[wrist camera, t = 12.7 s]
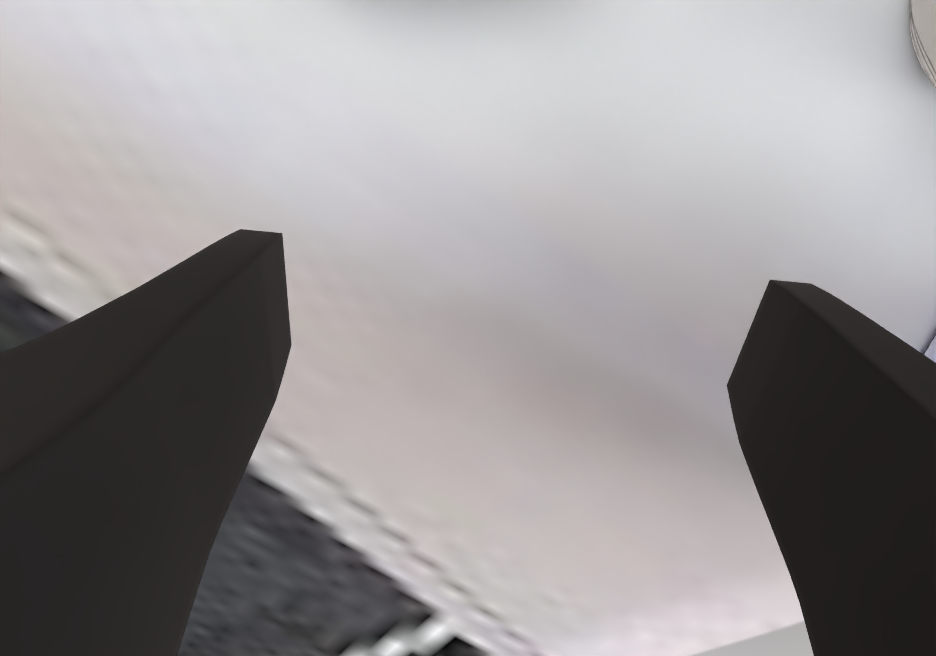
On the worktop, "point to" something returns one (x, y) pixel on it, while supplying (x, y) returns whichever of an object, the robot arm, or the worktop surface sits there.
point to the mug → (924, 35)
